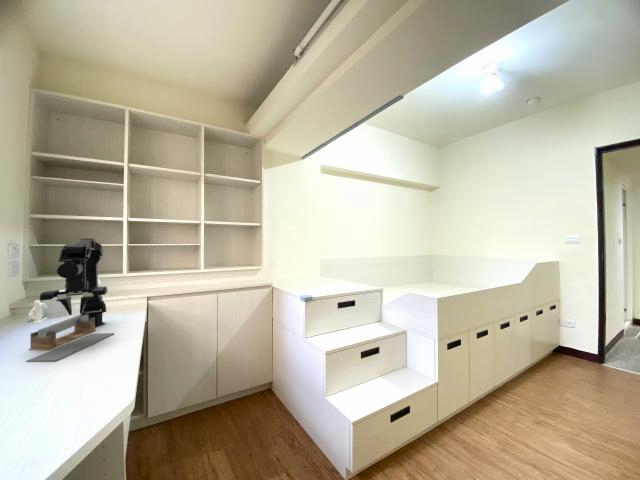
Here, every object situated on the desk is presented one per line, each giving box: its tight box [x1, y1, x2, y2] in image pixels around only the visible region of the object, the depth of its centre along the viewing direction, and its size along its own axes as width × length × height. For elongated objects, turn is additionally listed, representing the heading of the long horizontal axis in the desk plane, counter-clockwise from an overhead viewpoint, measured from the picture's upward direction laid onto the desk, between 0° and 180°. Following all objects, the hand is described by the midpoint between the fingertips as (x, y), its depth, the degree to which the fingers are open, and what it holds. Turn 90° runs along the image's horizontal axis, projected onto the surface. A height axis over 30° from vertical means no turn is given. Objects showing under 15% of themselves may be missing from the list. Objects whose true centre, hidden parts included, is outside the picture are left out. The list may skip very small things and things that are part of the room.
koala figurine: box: [28, 299, 48, 324], centre depth 131 cm, size 8×7×12 cm
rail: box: [37, 314, 88, 338], centre depth 107 cm, size 22×3×3 cm, turn 9°
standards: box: [28, 317, 97, 351], centre depth 107 cm, size 22×7×6 cm, turn 2°
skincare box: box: [43, 289, 68, 319], centre depth 140 cm, size 8×6×15 cm
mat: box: [25, 332, 115, 363], centre depth 100 cm, size 10×26×1 cm, turn 2°
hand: (75, 314), depth 100 cm, fingers open, 3 cm apart
